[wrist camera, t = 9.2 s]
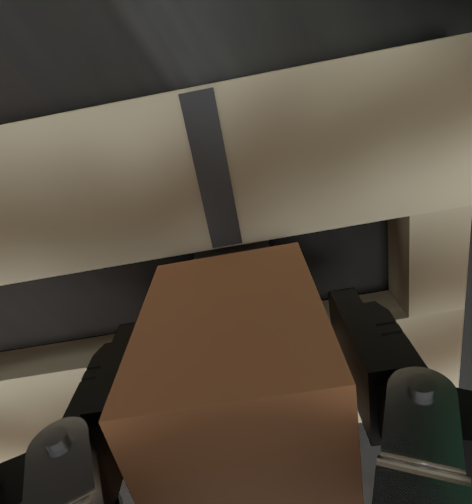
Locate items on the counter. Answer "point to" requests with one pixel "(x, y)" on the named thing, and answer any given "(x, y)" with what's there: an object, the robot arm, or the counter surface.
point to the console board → (246, 193)
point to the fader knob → (235, 387)
